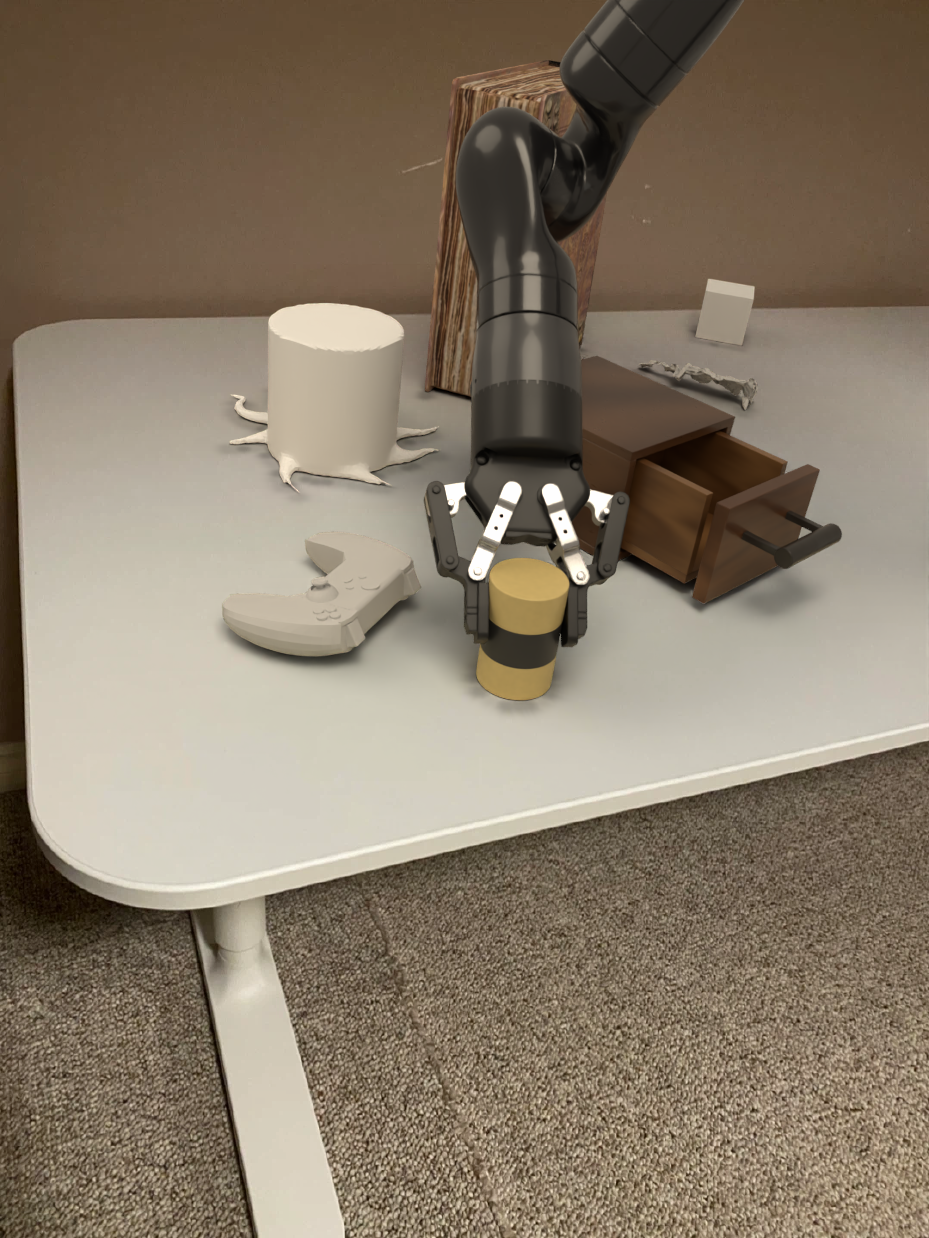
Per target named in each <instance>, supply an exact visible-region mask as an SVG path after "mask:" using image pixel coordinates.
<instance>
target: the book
mask: <svg viewBox="0 0 929 1238" xmlns="http://www.w3.org/2000/svg"><path fill="white" fill-rule="evenodd" d="M560 63H561V61H556V60H550V59H547V60H546V59H545V60H542V61H541V60H540V61H535V62H531V63H524V64H520V65H516V66H510V67H509V66H508V67H504V68H499V69H494V70H489V71H484V72H478V73H473V74H468V75H462V76H457V77H454V78H453V79H452V81H451V86H450V88H451V89H450V98H449V110H448V121H447V131H446V144H445V154H444V165H443V166H444V167H443V175H442V187H441V188H442V189H441V199H440V211H439V223H438V233H437V244H436V245H437V246H436V255H435V266H434V267H435V268H434V276H433V277H434V279H433V290H432V299H431V312H430V322H429V323H430V324H429V335H428V346H427V354H426V355H427V357H426V365H425V379H424V391H425V392H427V393H429V392H431V391H432V390H433V389H435V388H437V389H441V390H444V391H449V392H452V393H455V394H458V395H462V396H467V397H470V398H471V396H470V385H471V381H472V363H473V355H474V350H475V343H476V309H477V278H476V274H475V271H474V267H473V264H472V261H471V258H470V254H469V250H468V246H467V241H466V237H465V233H464V228H463V224H462V220H461V216H460V211H459V206H458V200H457V194H456V180H455V179H456V165H457V159H458V155H459V151H460V148H461V145H462V142H463V140H464V138H465V136H466V134H467V132H468V131H469V129H470V128H471V126H472V125H473V124H474V123H475V121H476V120H477V119H479V118H480V117H481V116H482V115H483V114H485V113H486V112H488V111H490V110H492V109H495V108H498V107H515V108H519V109H521V110H523V111H526V112H528V113H529V114H531V115H532V116H534V117H535V118H536V119H538V120H539V121H540V122H542V123H543V124H544V125H546V126H547V127H548V128H550V129H551V130H552V131H553V132H555V133H556V134H557V135H559V136H560V137H562V136H563V135H564V133H565V132H566V130H567V128H568V126H569V124H570V121H571V119H572V117H573V114H574V112H575V109H576V103H575V102H574V101H573V99H572V98H571V96H570V95H569V93H568V92H567V90H566V89H565V87H564V85H563V83H562V81H561V78H560V72H559V69H560ZM607 194H608V192H607V193H606V195H605V197H604V199H603V200H602V202H601V204H600V206H599V207H598V209H597V211H596V212H595V213H594V215H593V216H592V217H591V219H590V220H589V221H588V222H587V223H586V224H585V225H584V226H583V227H582V228H581V229H580V230H579V231H578V232H576V233H575V234H574V235H572V236H571V237H569V238H567V239H565V240H563V241H561V242H559V243H558V244H559V245H560V246H561V247H562V248H563V249H564V251H565V252H566V253H567V254H568V255H569V257H570V258H571V260H572V262H573V264H574V266H575V269H576V274H577V283H578V341H579V348H580V347H581V346H582V345H583V340H584V333H585V327H586V322H587V321H586V320H587V315H588V310H589V303H590V296H591V291H592V285H593V281H594V280H593V279H594V274H595V267H596V262H597V255H598V248H599V243H600V236H601V232H602V226H603V219H604V214H605V213H604V212H605V207H606V202H607V201H606V200H607Z"/></svg>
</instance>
